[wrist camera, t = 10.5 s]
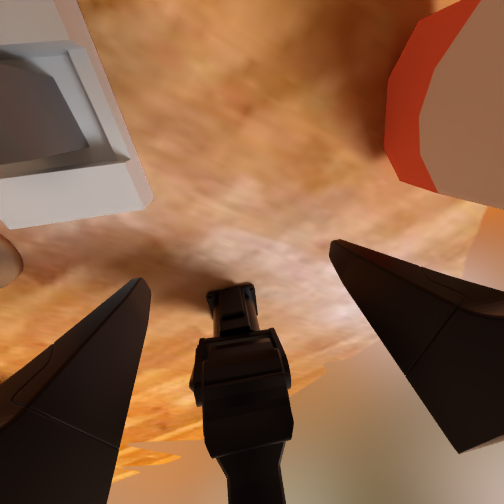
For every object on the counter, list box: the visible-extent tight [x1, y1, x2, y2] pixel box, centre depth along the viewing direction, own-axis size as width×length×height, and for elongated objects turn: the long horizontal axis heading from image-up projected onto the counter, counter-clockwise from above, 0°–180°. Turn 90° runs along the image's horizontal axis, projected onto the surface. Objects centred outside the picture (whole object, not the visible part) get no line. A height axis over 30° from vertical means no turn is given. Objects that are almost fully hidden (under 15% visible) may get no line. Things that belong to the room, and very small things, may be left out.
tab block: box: [0, 63, 90, 165], centre depth 11 cm, size 4×4×6 cm
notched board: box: [0, 0, 154, 230], centre depth 13 cm, size 13×10×3 cm
